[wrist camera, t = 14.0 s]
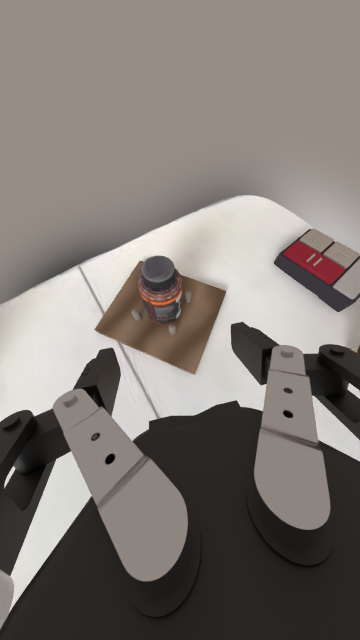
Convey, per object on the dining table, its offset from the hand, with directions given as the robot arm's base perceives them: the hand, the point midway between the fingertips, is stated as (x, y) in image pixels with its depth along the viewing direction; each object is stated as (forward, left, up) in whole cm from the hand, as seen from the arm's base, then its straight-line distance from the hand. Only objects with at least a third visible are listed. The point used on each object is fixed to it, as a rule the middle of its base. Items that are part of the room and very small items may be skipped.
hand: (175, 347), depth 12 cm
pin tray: (-7, +9, -18) cm, 21 cm away
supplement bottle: (-6, +9, -17) cm, 20 cm away
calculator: (+18, +30, -18) cm, 40 cm away
